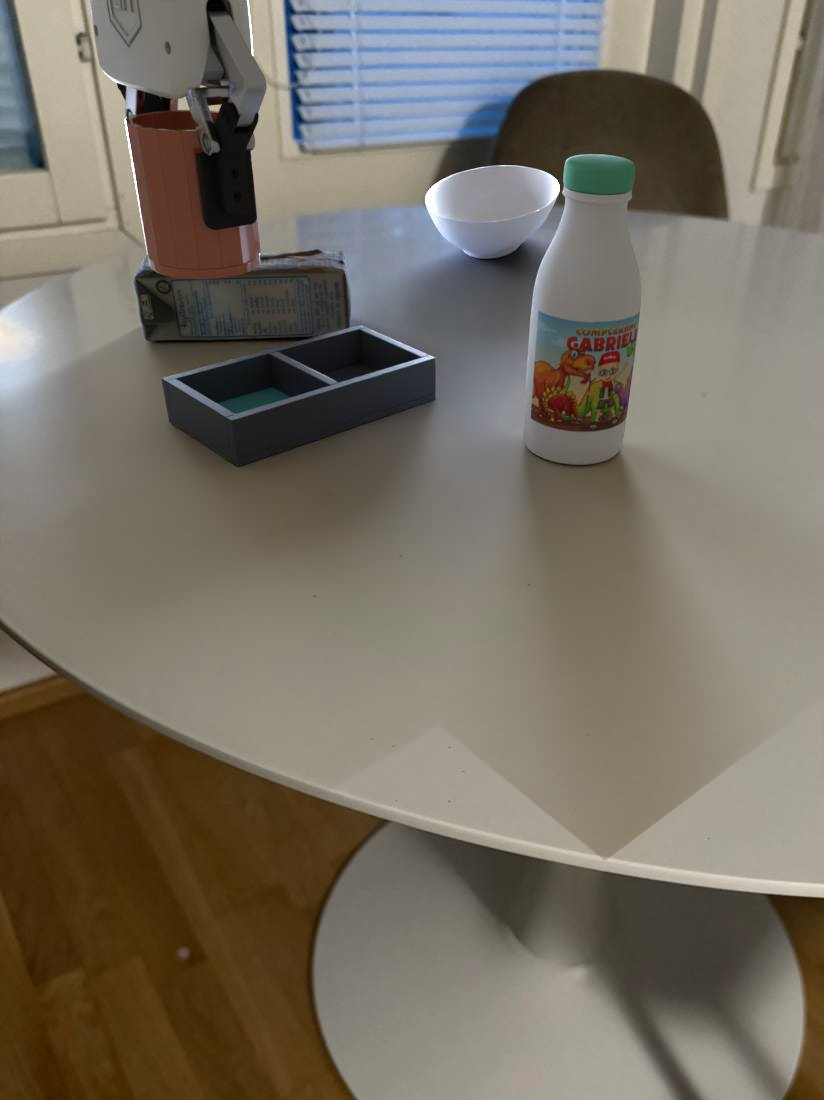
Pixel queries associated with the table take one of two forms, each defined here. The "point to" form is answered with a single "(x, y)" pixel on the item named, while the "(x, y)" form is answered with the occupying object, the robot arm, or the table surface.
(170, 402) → the tray
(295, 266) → the beverage carton
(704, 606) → the table surface
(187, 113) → the cup
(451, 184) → the bowl
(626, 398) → the milk bottle
